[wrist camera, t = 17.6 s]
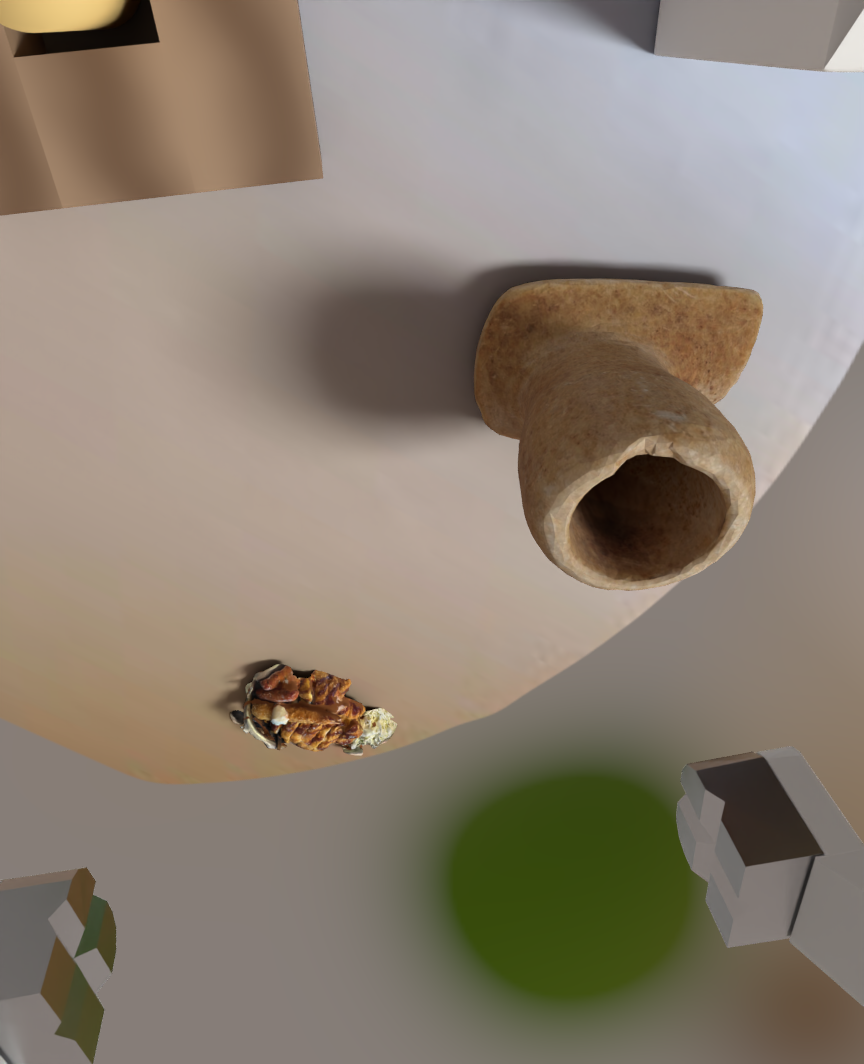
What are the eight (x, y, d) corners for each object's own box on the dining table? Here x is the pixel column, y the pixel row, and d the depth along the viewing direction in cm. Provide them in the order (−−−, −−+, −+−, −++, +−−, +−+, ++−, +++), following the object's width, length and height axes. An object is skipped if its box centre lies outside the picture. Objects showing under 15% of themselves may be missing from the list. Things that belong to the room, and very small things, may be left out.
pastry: (374, 754, 61) (377, 790, 59) (226, 716, 57) (222, 754, 54) (414, 694, 58) (419, 729, 56) (261, 649, 54) (259, 685, 51)
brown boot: (456, 459, 48) (508, 614, 35) (483, 259, 41) (558, 361, 29) (688, 466, 50) (813, 613, 38) (747, 279, 44) (920, 380, 31)
